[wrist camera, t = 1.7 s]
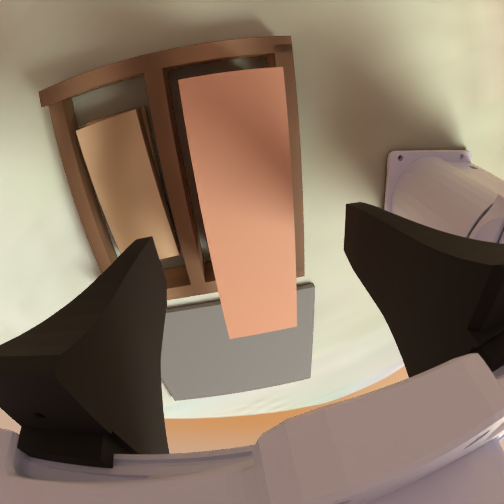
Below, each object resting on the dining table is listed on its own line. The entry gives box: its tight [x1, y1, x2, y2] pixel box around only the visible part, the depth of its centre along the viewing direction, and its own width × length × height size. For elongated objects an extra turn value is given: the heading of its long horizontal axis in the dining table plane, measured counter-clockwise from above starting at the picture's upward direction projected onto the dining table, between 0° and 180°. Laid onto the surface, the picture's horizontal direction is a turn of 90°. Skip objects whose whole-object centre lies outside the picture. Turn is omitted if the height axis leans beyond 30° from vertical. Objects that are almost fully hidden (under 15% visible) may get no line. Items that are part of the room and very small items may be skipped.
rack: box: [39, 36, 304, 300], centre depth 18 cm, size 14×16×2 cm
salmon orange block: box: [178, 67, 297, 339], centre depth 16 cm, size 4×12×9 cm, turn 6°
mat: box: [161, 283, 315, 401], centre depth 29 cm, size 16×14×1 cm
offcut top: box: [76, 107, 181, 259], centre depth 18 cm, size 4×10×1 cm, turn 9°
